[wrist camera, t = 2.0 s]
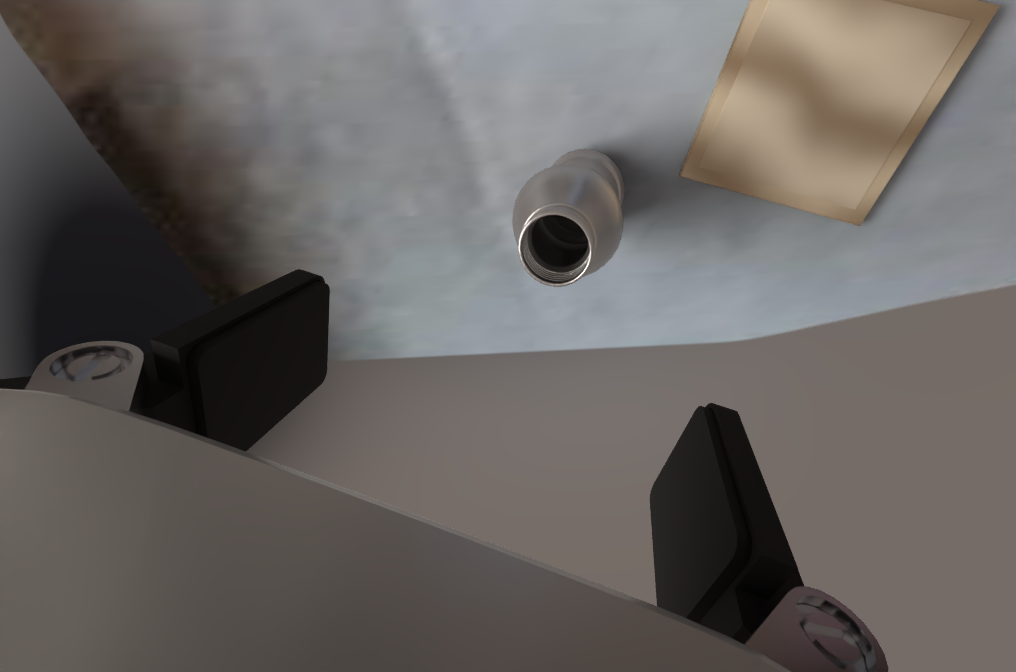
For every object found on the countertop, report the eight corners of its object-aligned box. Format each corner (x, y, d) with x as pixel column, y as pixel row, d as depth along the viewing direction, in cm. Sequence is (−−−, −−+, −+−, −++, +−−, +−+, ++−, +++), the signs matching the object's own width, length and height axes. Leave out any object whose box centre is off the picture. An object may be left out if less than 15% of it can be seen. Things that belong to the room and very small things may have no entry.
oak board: (766, -41, 29) (771, -47, 28) (986, 9, 28) (1001, 5, 27) (679, 174, 36) (680, 176, 35) (852, 222, 35) (860, 226, 34)
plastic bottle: (573, 240, 40) (537, 336, 23) (533, 175, 39) (462, 226, 21) (638, 200, 38) (652, 276, 20) (598, 129, 36) (576, 145, 19)
